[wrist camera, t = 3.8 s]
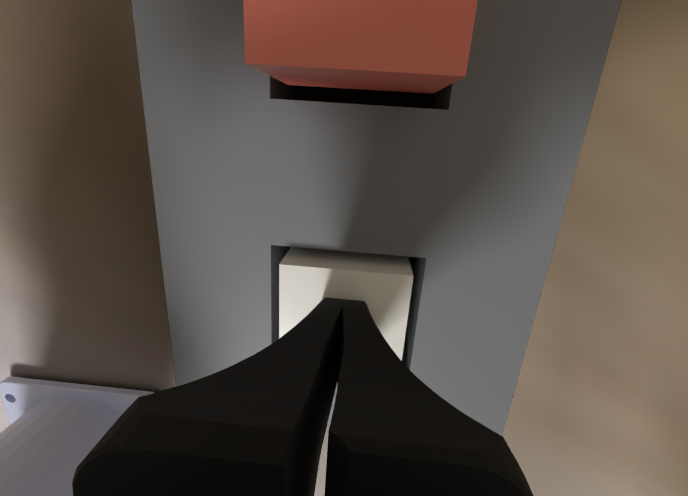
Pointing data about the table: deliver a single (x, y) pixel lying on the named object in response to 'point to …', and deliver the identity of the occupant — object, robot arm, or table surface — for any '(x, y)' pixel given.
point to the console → (369, 186)
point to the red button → (360, 42)
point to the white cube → (347, 287)
